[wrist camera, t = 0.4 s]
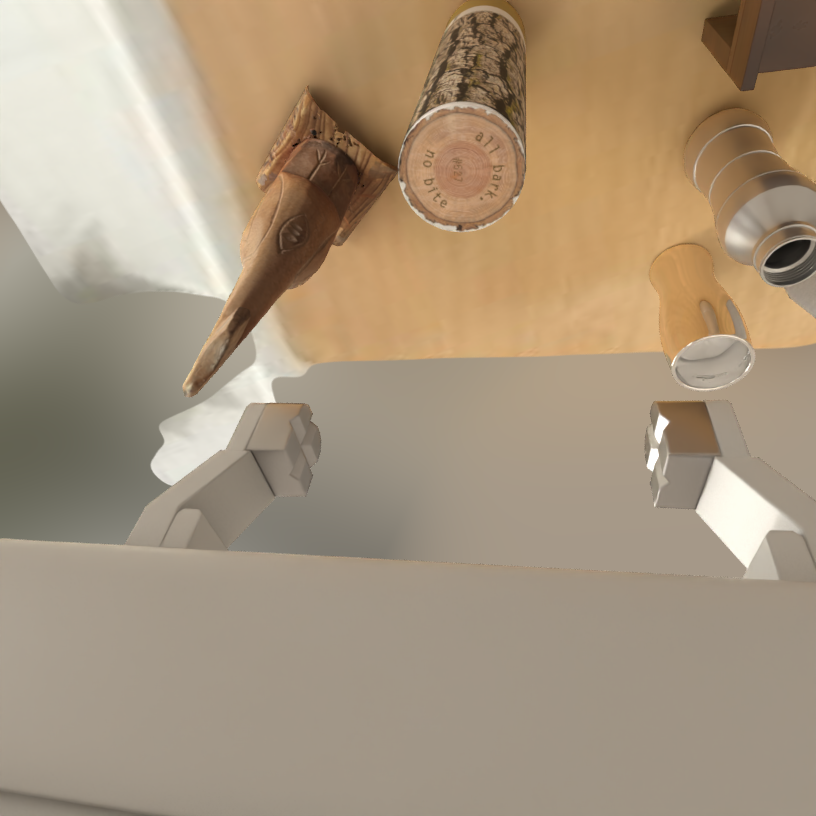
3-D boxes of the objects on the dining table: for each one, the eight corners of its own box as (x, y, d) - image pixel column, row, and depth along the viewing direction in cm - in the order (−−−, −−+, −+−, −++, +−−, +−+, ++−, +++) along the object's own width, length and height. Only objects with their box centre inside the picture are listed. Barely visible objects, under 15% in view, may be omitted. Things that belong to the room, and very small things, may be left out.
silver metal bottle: (663, 165, 52) (712, 290, 38) (710, 88, 47) (786, 199, 33) (726, 187, 53) (797, 318, 39) (780, 113, 48) (882, 233, 34)
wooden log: (528, -10, 44) (531, 102, 27) (522, 86, 49) (521, 232, 32) (442, -5, 45) (391, 107, 28) (444, 89, 50) (402, 232, 33)
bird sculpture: (407, 157, 55) (329, 384, 33) (347, 241, 62) (252, 471, 41) (306, 79, 51) (143, 278, 29) (256, 179, 59) (96, 396, 37)
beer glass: (677, 307, 62) (707, 404, 52) (630, 276, 61) (651, 370, 50) (732, 261, 58) (777, 358, 47) (683, 226, 56) (718, 319, 46)
